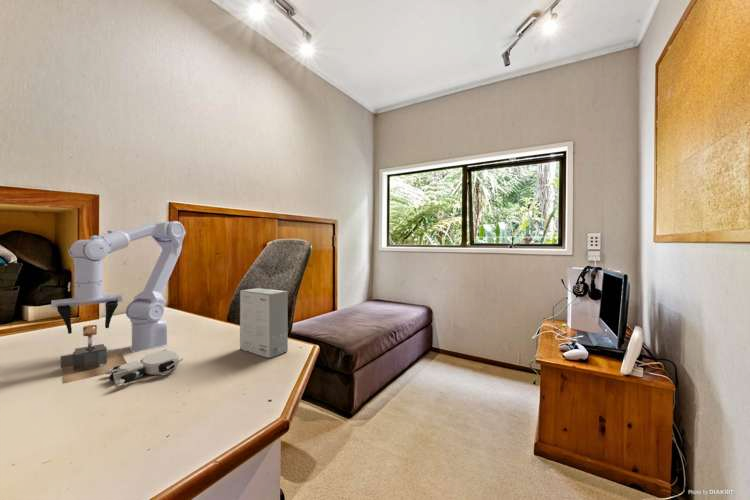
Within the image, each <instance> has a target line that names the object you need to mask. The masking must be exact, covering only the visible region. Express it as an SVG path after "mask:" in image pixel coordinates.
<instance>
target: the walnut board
mask: <svg viewBox="0 0 750 500" xmlns="http://www.w3.org/2000/svg"><path fill="white" fill-rule="evenodd" d="M123 364H127V361H126V358H125V357H124V355H123V353H122V351H117V352H113V353H107V363H106V364H105V365H103V366H101V367H98V368H95V369H90V370H84V371H75V370H73V366H69V367H64V368H61V369H62V371H61V372H62V374H61V375H62V384H63V385H64V384H68V383H73V382H76V381H82V380H85V379H89V378H93V377H94V378H95V377H99V376H102V375H107V374H106V373H105V372H106V371H107V370H109V369H113V368H114V367H116V366H121V365H123Z"/></svg>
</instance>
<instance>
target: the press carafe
mask: <svg viewBox="0 0 750 500" xmlns="http://www.w3.org/2000/svg"><path fill="white" fill-rule="evenodd" d="M107 350H108V349H107V345H106V346H105V345H104V343H100V344H95V345H92V349H91V350H88V346H82V347H77V348H74V351H73V352H72V354H64V355H60V369H62V368H64V367H69V366H73V370H75V371H84V370H90V369H95V368H98V367H101V366H103V365H105V364H106V363H107V354H108V352H107Z"/></svg>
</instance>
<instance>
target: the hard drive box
mask: <svg viewBox="0 0 750 500" xmlns="http://www.w3.org/2000/svg"><path fill="white" fill-rule="evenodd" d="M288 292H289V291H288V290H280V289H271V288H262V287H260V288H259V287H256V288H250V289H249V288H248V289H241V290H239V346H240V347H239V349H240V350H241V349H242V350H243V351H244V352H247V351H249V352H248V353H251V354H255V355H258V356H261V357H264V358H266V359H267V358H268V359H271V358H274V357H276V356H279V355H282V354H284V352H285V353H288V351H289V350H288V345H289V339H288V337H289V336H288V333H289V332H288V329H289V327H288V326H289V325H288V320H289V319H288V318H289V317H288V315H289V313H288V311H289V310H288V305H289V303H288V301H289V300H288V299H289V298H288V297H289V296H288V295H289V294H288ZM242 350H241V351H242Z"/></svg>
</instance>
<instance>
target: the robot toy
mask: <svg viewBox="0 0 750 500" xmlns="http://www.w3.org/2000/svg"><path fill="white" fill-rule="evenodd" d="M183 360H184V358H180V356H179V354H178V353H177V352H175V351H172V350H168V348H165V349H163V350H160V351H157V352H156V351H155V352H153V353H150V354H146V355H144V356H143V357H142V358H141V360H140V361H137V360H135V361H131V362H128V363H127V364H123V365H121V366H116V367H114V368H113V369H109V370H107V371H106V372H105V373H106V374H105V375H109V376H108V379H109V380H110V382H113V383H114V384H115V385H118V386H119V385H122V384H123V385H125V384H128V383H132V382H133V381H135V380H136V379H139V378H142V377H143V375H144V374H147V375H150V376H151V375H152V376H153V375H167V374H169V373H170V372H171V371H172V370H175V369H176V368H177V367H178V366H179V365H180V362H182V361H183Z"/></svg>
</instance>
